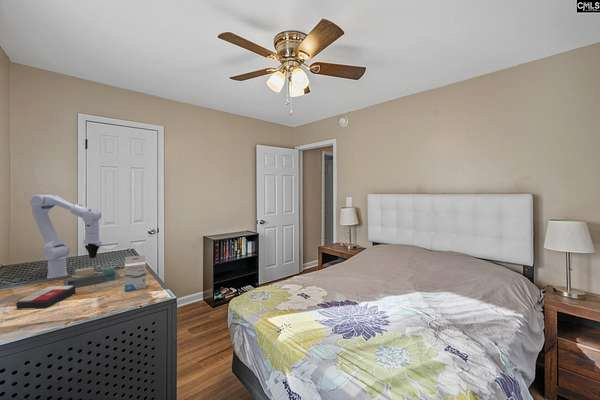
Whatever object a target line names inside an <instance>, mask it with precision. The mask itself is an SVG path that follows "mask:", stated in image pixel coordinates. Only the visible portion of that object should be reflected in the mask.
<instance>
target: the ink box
mask: <svg viewBox="0 0 600 400" xmlns="http://www.w3.org/2000/svg"><path fill="white" fill-rule="evenodd" d="M146 263H147V262H146V255H144V254H141V255H135V256H133V255H132V256H126V257H124V292H129V291H136V290H142V289H146V288H147V264H146ZM141 288H142V289H141Z"/></svg>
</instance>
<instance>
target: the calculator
mask: <svg viewBox="0 0 600 400" xmlns="http://www.w3.org/2000/svg"><path fill="white" fill-rule="evenodd" d="M76 293H77V292H76V288H75V286H64V285H58V286H57V285H53V286H51V285H49V286H47V287H45V288H43V289H40V290H38V291H36V292H33V293H31V294H30V295H27V296H25V297H23V298H21V299H19V300H18V301H17V302H16V303H15V304H16V305H15V307H16V309H17V308H36V309H47V308H49V307H52V306H54V305H55V304H58V303H60V302H62V301H64V300H65V299H66V298H67V299H68V298H70V297H71V296H73V295H76Z"/></svg>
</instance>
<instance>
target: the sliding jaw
mask: <svg viewBox="0 0 600 400" xmlns="http://www.w3.org/2000/svg"><path fill="white" fill-rule="evenodd" d="M115 271H116V267H115V266H109V267H102V271H94V275H98V274H105V275H106V276H110V275H115ZM71 278H72V279H75V275H71Z"/></svg>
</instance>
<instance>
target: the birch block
mask: <svg viewBox="0 0 600 400" xmlns="http://www.w3.org/2000/svg"><path fill="white" fill-rule="evenodd" d="M94 272H95V268H94V267H92V266H91V267H85V268H79V269H75V270H74V274H75V278H81V277H86V276H92V275H94Z"/></svg>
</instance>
